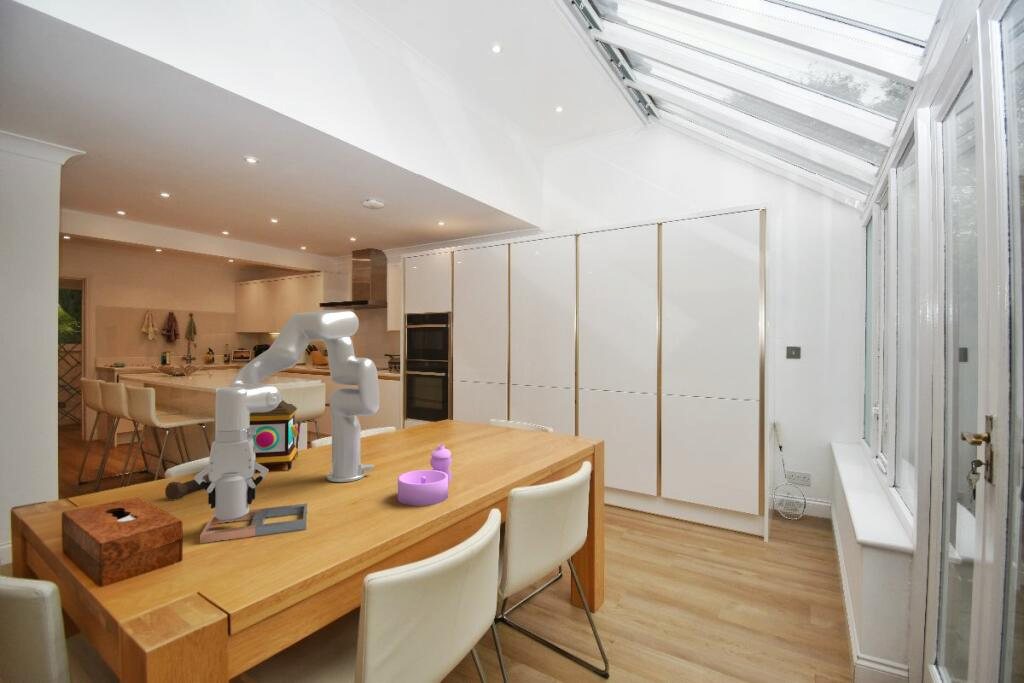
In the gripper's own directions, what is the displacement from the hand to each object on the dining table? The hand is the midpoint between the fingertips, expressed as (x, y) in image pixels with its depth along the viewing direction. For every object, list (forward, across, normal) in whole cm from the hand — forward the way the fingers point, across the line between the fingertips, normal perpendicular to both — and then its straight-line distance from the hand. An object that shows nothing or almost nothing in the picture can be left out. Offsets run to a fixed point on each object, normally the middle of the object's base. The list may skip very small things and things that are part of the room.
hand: (232, 504), depth 119 cm
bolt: (+7, +16, -37) cm, 41 cm away
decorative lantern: (+7, -4, -61) cm, 61 cm away
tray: (+6, -6, 0) cm, 9 cm away
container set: (+7, -53, -10) cm, 55 cm away
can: (+4, 0, 0) cm, 4 cm away
